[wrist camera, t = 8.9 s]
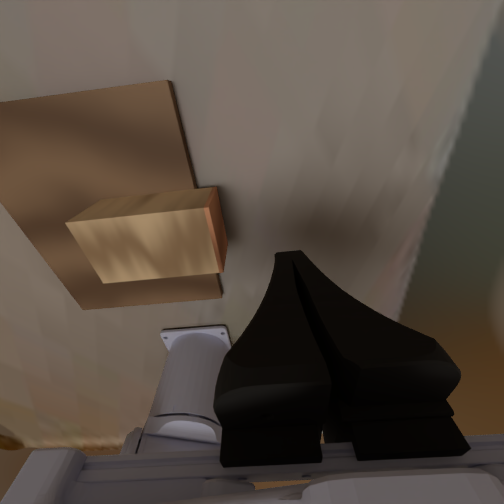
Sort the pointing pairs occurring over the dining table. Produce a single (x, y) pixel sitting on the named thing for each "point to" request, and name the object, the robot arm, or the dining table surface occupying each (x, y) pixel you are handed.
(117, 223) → the oak block
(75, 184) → the walnut board
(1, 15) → the dining table surface
